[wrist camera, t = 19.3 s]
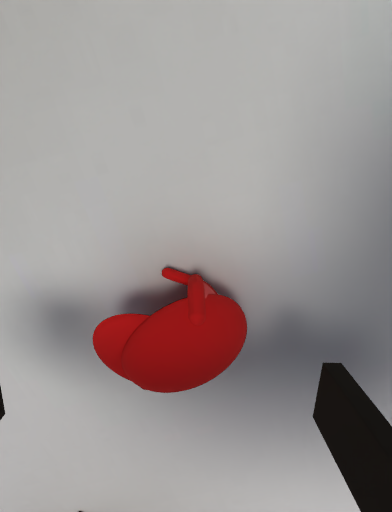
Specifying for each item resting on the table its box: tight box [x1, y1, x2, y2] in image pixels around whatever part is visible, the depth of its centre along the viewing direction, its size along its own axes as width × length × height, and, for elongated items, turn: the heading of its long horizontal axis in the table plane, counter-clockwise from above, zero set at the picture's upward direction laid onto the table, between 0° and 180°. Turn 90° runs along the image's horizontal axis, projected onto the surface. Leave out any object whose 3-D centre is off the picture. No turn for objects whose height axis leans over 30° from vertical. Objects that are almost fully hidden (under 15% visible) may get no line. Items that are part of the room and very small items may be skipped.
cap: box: [93, 268, 247, 393], centre depth 17 cm, size 8×6×6 cm
